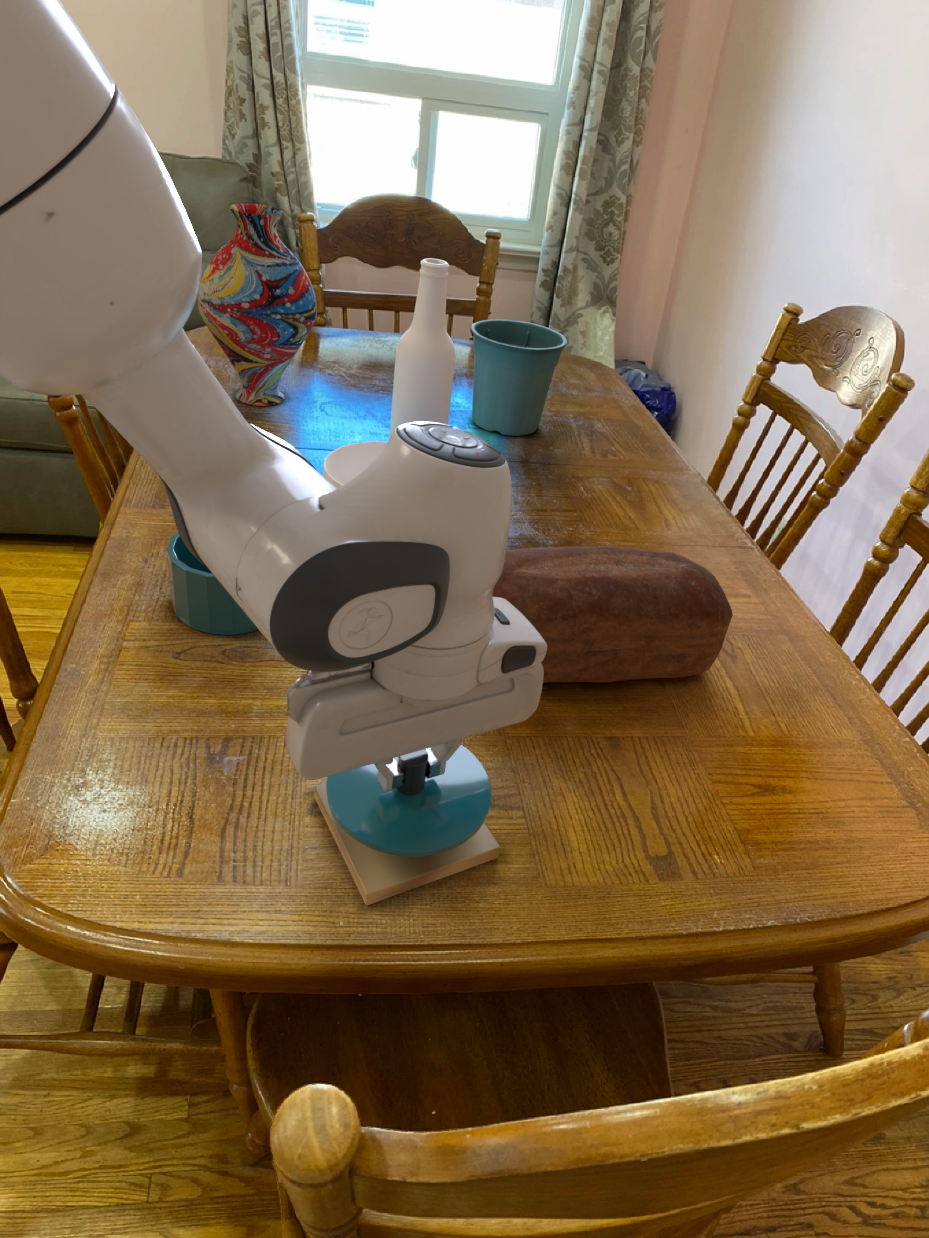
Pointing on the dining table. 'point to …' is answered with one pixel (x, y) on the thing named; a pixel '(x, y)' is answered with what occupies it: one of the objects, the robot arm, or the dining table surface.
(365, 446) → the bowl
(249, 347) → the vase
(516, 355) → the flower pot
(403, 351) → the alcohol
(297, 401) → the dining table surface
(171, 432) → the robot arm
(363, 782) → the pot lid
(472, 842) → the board
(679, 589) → the bread
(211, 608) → the pot
